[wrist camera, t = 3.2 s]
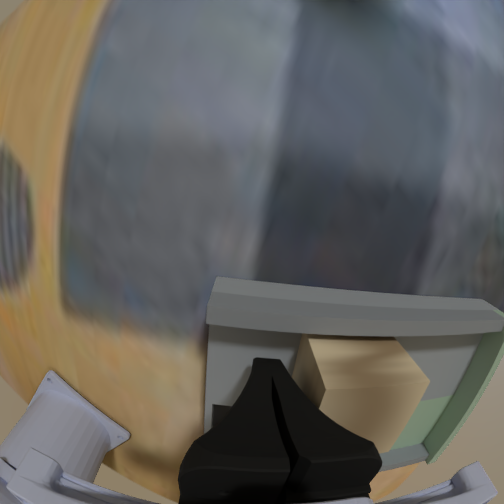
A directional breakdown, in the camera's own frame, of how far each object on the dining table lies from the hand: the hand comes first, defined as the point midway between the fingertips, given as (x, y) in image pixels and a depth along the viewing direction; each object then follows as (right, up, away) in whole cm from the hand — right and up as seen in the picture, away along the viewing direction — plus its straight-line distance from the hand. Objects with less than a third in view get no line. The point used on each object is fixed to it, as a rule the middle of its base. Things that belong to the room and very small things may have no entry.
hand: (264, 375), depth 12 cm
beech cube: (+4, 0, +1) cm, 4 cm away
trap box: (+6, -3, +4) cm, 8 cm away
